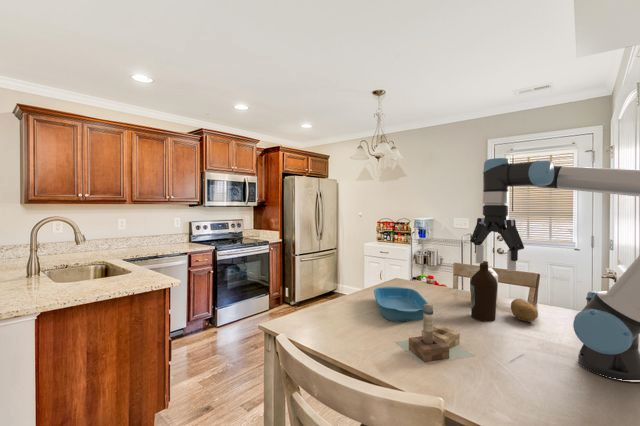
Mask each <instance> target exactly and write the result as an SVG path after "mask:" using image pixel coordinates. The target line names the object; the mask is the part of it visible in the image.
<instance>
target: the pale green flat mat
mask: <svg viewBox="0 0 640 426" xmlns="http://www.w3.org/2000/svg"><path fill="white" fill-rule="evenodd" d="M395 343H396V344H397V346H398V347H400V348H401V349H403V350H404V351H405V352H406V353H407V354H408V355H410V356H411V357H412V358H413V359H414V360H416V362H418V363H419V365H425V364H431V363H437V362H443V361H444V362H445V361H450V360H456V359H457V360H458V359H464V358H470V357H475V356H476V355H475V354H473V353H472V352H470V351H469V350H467V349H465V348H464V347H462V346H461V345H460V344H459V345H457V346H455V347H453V348H451V349H449V359H445V360H438V361H432V362H425V363H424V362H423V361H422V360H421V359H419V358H418V357H417V356H416V355H415V354H413V353H412V352H411V351H410V350H409V339H408V340H401V341H400V340H399V341H395Z"/></svg>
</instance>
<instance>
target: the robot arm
mask: <svg viewBox="0 0 640 426" xmlns="http://www.w3.org/2000/svg"><path fill="white" fill-rule="evenodd" d="M482 174H483V175H482V176H483V178H482V180H483V181H482V182H483V184H482V185H483V189H482V190H483V191H482V192H483V193H482V204H484V205H483V206H482V215H483V216H484V217H477V219H476V224H475V227H474V230H473V233H472V235H471V238H470V240H469V242H470V243H472V244H473V245H474V254H475V264H480V263H483V261H484V245H483V243H484V242H485V240H486V239H487V237H488V236H489V235H490V233H492V232H493V233H498V235H500V237H501V239H502V240H503V241H504V243H505V244H506V246H507V247H508V250H507V257H506V258H507V260H506V262H507V263H506V264H507V265H506V268H507V269H506V271H507V272H512V271H513V272H515V271H516V272H517V261H518V258H519V251H520V250H524V249H525V247H524V242H523V240H522V238H521V236H520V233H519V231H518V228H517V225H516V220H515V219H507V217H508V216H509V206H508V205H507V204H508V203H509V188H510V187H534V188H535V187H537V188H540V189H541V188H542V189H546V188H547V189H557V190H567V191H578V192H586V193H587V192H588V193H598V194H607V195H608V194H609V195H610V194H611V195H620V196H628V197H639V198H640V169H628V168H627V169H626V168H611V167H609V168H607V167H606V168H605V167H588V166H587V167H586V166H570V165H569V166H567V165H554V164H553V162H552V161H550V160H536V161H527V162H525V161H524V162H516V163H510V160H509V158H506V157H498V158H489V159H486V160H484V162H483V171H482ZM585 300H586V305H585V306H584V307H583V308H582V309H581V311H579V312H578V313H576V315H575V316H574V320H573V324H572V325H573V326H572V327H573V331H574V333H575V335H576V337H577V339H578V340H579V341H580V342H581V343H582V346H581V348H580V350H579V352H578V356H577V358H578V359H577V361H579V362H578V364H579V363H580V364H581V365H582V366H581V365H580V366H581V367H583V366H584V367H585V368H584V367H583V368H584V369H586V368H587V369H589V370H591V371H593V372H595V373H598V374H601V375H604V376H607V377H611V378H616V379H622V380H640V351H639V348H640V347H639V343H640V342H639V341H640V339H639V337H640V254H639V255H638V256H637V257H636V259H635V260H633V262H632V263H631V264H630V265H629V266H628V268H627V269H626V270H625V271H624V272H623V273H622V274H621V276H620V277H619V278H618V279H617V280H616V282H615V283H614V284H612V286H611V287H610V288H609V289H608V290H599V291H598V290H589V291H588V292H587V294H586V297H585ZM587 369H586V370H587ZM589 370H588V371H589ZM591 371H590V372H591ZM593 372H592V373H593ZM595 373H594V374H595ZM598 374H597V375H598ZM601 375H600V376H601Z"/></svg>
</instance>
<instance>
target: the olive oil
mask: <svg viewBox="0 0 640 426" xmlns="http://www.w3.org/2000/svg"><path fill="white" fill-rule="evenodd" d="M488 266H489V261H487V260H483V263H479V270H477V272H476V273H474V274H473V275H472V276H471V278H470V283H469V284H470V302H471V303H470V308H471V314H470V315H471V317H472V318H473V319H475V320H476V321H477V320H478V321H483V322H495V321H496V317H497V313H496V312H497V305H496V301H497V288H498V289H499V286H498V285H499V283H498V284H497V280H496V278H495V277H494V276H493V275H492V274H491V273H490V272H489V270H488Z"/></svg>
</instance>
